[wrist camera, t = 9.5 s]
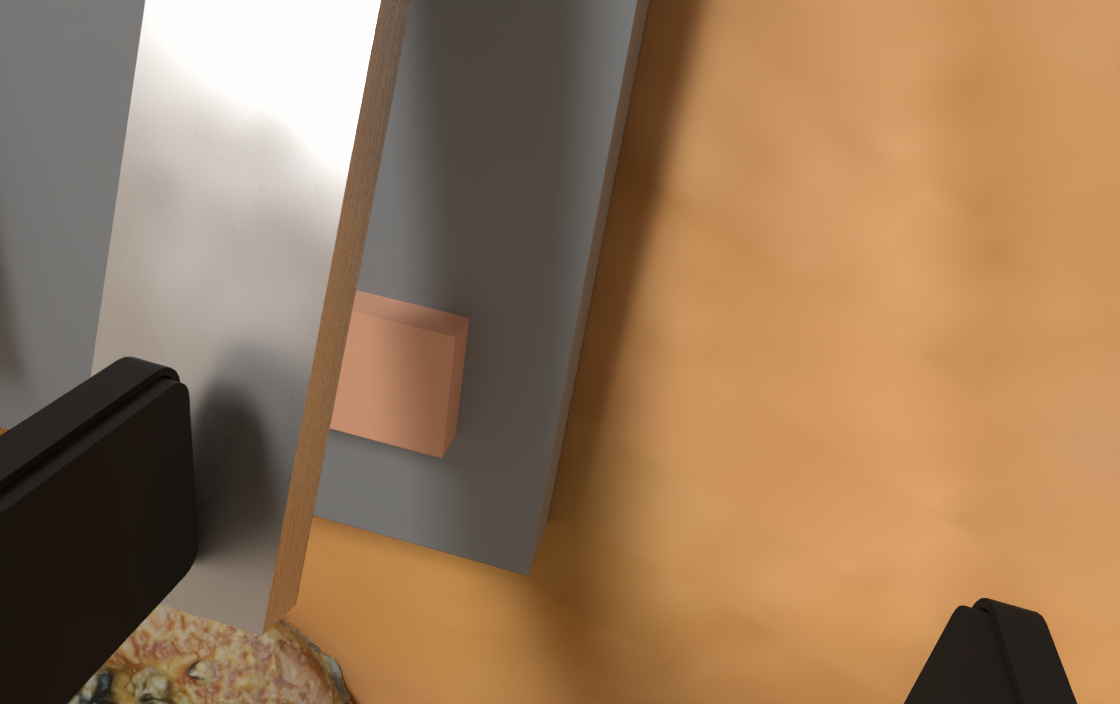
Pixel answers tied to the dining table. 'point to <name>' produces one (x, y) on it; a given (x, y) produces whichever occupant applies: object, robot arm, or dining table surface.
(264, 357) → the strap
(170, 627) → the bread roll
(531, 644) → the dining table surface
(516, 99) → the clamp board
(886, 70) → the dining table surface
